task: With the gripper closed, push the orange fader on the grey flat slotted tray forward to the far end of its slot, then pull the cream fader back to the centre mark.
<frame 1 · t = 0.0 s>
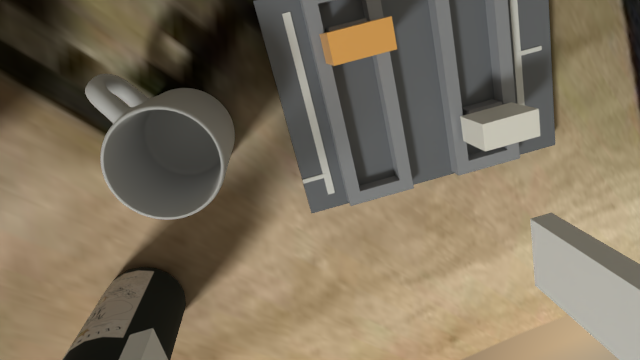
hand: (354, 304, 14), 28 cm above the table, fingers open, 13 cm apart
fader a: (354, 41, 33), point 5 cm above the table, slide at -5.0 cm
fader b: (493, 123, 37), point 5 cm above the table, slide at 5.0 cm
grey flat slotted tray: (412, 78, 40), on the table
mug: (175, 119, 39), on the table
wine bottle: (149, 295, 44), on the table
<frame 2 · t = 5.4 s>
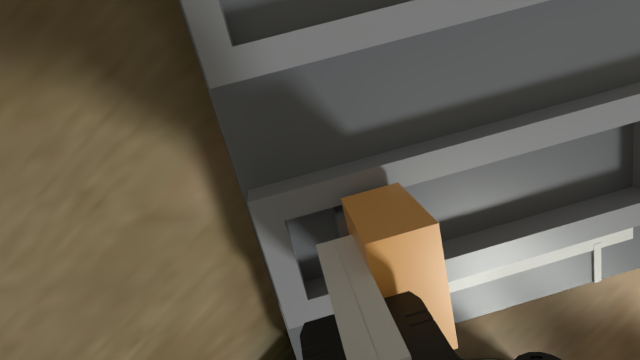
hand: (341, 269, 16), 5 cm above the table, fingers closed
fader a: (388, 256, 16), point 5 cm above the table, slide at -4.9 cm, touching gripper
grey flat slotted tray: (432, 66, 19), on the table
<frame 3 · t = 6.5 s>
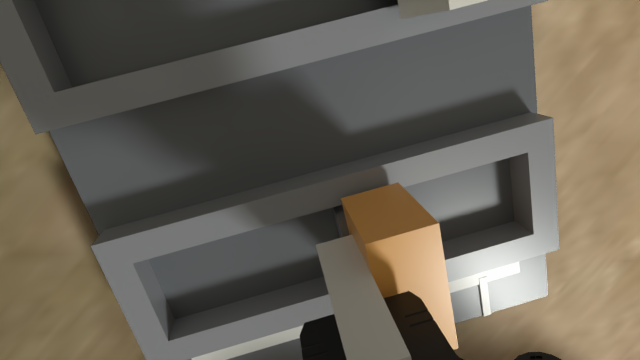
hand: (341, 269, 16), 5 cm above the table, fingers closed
fader a: (388, 256, 16), point 5 cm above the table, slide at 1.4 cm, touching gripper
grey flat slotted tray: (303, 100, 19), on the table
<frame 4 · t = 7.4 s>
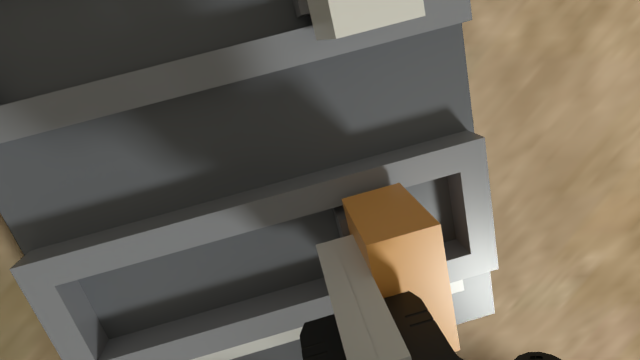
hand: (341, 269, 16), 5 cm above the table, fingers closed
fader a: (389, 257, 16), point 5 cm above the table, slide at 4.6 cm, touching gripper
grey flat slotted tray: (237, 118, 19), on the table
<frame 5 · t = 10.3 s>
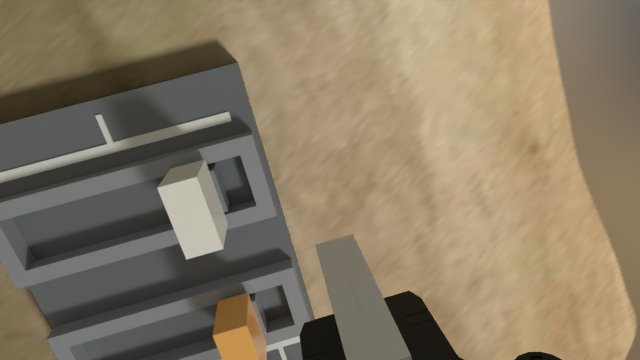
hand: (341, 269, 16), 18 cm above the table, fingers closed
fader a: (242, 331, 32), point 5 cm above the table, slide at 4.7 cm
fader b: (197, 202, 28), point 5 cm above the table, slide at 5.0 cm
grey flat slotted tray: (167, 250, 34), on the table
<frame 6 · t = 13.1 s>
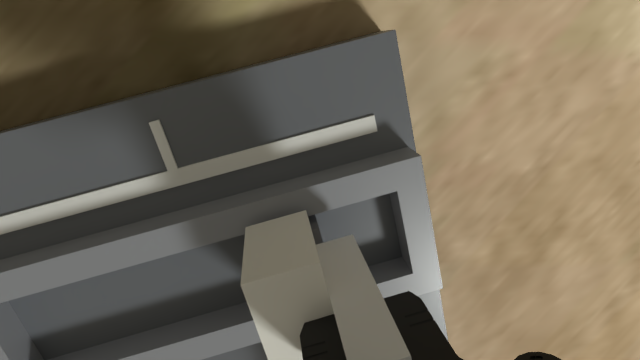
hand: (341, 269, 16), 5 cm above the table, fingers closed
fader b: (294, 288, 16), point 5 cm above the table, slide at 3.5 cm, touching gripper
grey flat slotted tray: (247, 330, 22), on the table
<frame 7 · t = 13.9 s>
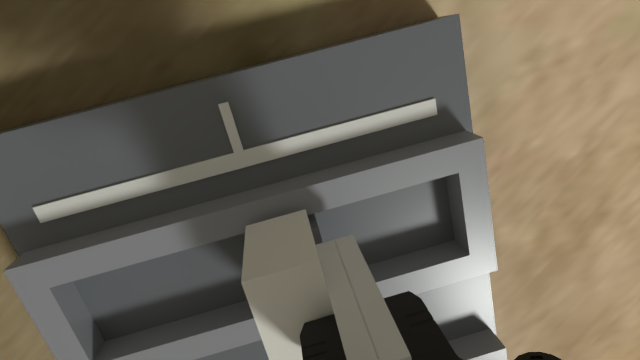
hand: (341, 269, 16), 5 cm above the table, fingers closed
fader b: (294, 286, 16), point 5 cm above the table, slide at 0.8 cm, touching gripper
grey flat slotted tray: (296, 314, 22), on the table
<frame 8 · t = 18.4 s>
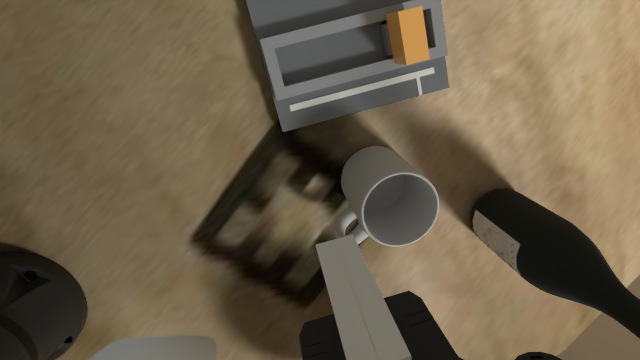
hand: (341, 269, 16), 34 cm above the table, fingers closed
fader a: (404, 36, 42), point 5 cm above the table, slide at 4.7 cm
mug: (362, 186, 53), on the table
wine bottle: (494, 212, 57), on the table
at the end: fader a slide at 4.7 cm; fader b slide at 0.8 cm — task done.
